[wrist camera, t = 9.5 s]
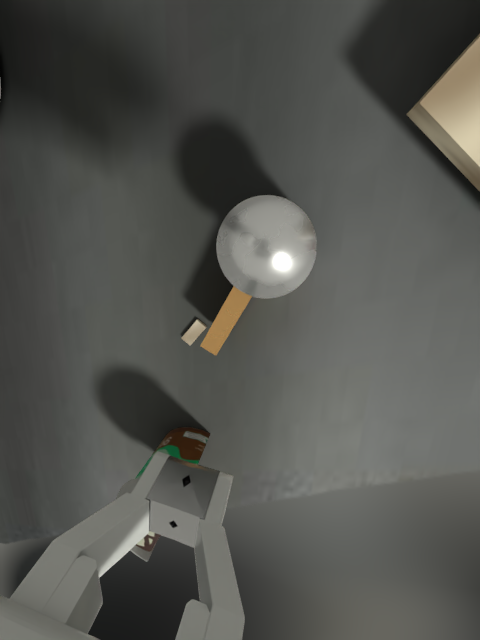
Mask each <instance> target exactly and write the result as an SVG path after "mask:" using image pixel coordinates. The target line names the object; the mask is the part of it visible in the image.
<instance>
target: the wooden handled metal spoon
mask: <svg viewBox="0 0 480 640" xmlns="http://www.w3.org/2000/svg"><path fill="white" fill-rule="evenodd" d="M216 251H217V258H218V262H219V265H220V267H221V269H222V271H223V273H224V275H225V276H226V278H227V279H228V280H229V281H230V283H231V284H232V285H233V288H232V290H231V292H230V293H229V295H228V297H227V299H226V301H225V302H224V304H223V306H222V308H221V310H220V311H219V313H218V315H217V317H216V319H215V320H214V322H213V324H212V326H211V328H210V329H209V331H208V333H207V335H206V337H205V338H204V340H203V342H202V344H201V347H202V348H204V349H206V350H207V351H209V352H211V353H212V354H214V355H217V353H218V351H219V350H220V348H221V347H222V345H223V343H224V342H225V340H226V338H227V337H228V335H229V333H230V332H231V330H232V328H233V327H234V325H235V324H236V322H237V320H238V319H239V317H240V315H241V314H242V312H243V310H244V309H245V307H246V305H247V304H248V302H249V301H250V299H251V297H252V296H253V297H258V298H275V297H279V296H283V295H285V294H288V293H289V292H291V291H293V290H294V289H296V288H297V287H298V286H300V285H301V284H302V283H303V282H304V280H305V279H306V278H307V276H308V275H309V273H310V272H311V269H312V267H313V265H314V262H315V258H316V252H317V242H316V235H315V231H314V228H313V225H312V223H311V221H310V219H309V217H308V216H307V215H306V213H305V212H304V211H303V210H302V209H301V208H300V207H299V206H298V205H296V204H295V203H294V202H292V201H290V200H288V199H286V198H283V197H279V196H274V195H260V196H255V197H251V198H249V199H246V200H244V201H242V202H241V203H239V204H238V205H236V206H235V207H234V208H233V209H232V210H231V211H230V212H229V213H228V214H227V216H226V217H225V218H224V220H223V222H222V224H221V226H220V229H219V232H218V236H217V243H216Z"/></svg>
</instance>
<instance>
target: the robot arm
mask: <svg viewBox="0 0 480 640" xmlns="http://www.w3.org/2000/svg"><path fill="white" fill-rule="evenodd" d="M0 97H1V79H0ZM232 480H233V476H232V475H229V474H225V473H222V472H220V471H217V470H214V469H211V468H208V467H204V466H201V465H198V464H194V463H191V462H188V461H185V460H182V459H179V458H176V457H173V456H171V455H168V454H165V453H162V452H158V451H157V452H156V453H155V455H154V456H153V457H152V459H151V461H150V462H149V464H148V466H147V467H146V469H145V471H144V472H143V474H142V476H141V477H140V479H139V481H138V482H137V484H136V486H135V487H134V489H133V491H132V492H131V493H128V492H127V493H125V494H124V495H122V496H121V497H119V498H117V499H116V500H114V501H113V502H111V503H110V504H108V505H107V506H105V507H104V508H102V509H101V510H99V511H98V512H96V513H95V514H93V515H91V516H90V517H88V518H87V519H85V520H84V521H82V522H81V523H79V524H78V525H76V526H75V527H73V528H72V529H70V530H68V531H67V532H65V533H64V534H62V535H61V536H59V537H58V538H56V539H55V540H53V541H52V543H51V544H50V545H49V547H48V548H47V549H46V551H45V552H44V553H43V555H42V556H41V558H40V559H39V560H38V561H37V563H36V564H35V565H34V567H33V568H32V569H31V571H30V572H29V573H28V575H27V576H26V577H25V579H24V580H23V581H22V583H21V584H20V585H19V587H18V588H17V589H16V591H15V592H14V593H13V595H12V596H11V597H10V599H8V598H6V597H3V596H1V595H0V640H99V639H97V638H95V637H93V636H90V635H88V632H89V630H90V628H91V625H92V624H93V621H94V620H95V618H96V616H97V613H98V611H99V609H100V607H101V605H102V593H101V588H100V583H99V577H101V576H102V575H103V574H104V573H105V572H106V571H107V570H108V569H109V568H110V567H112V566H113V565H114V564H115V563H116V562H117V561H118V560H119V559H121V558H122V557H123V556H124V555H125V554H126V553H127V552H128V551H129V550H131V549H132V548H133V547H134V546H135V545H136V544H137V543H138V542H139V541H140V540H142V539H143V538H144V537H145V536H146V535H147V534H148V533H149V531H150V532H153V533H156V534H159V535H162V536H165V537H168V538H171V539H174V540H176V541H178V542H181V543H183V544H186V545H188V546H191V547H193V548H195V549H194V550H195V560H196V569H197V578H198V587H199V596H200V602H198V601H196V600H191V601H190V602H188V603H187V604H186V607H185V610H184V614H183V617H182V620H181V623H180V627H179V630H178V633H177V636H176V639H175V640H242V635H243V628H244V622H245V617H244V613H243V608H242V604H241V599H240V595H239V590H238V586H237V582H236V577H235V573H234V569H233V564H232V559H231V555H230V551H229V546H228V542H227V537H226V533H225V529H224V527H222V526H221V525H222V521H223V517H224V514H225V510H226V505H227V501H228V497H229V493H230V489H231V484H232Z"/></svg>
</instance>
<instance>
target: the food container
mask: <svg viewBox="0 0 480 640" xmlns="http://www.w3.org/2000/svg"><path fill="white" fill-rule="evenodd" d="M209 436H210V433H208V432H206V431H203V430H201V429H196V428H192V427H179V428H176V429H174V430H171V431H170V432H169V433H168V434H167V435H166V436H165V438H164V439H163V440H162V442H161V443H160V445H159V446H158V447H157V449H156V450H155V452H154V453H153V454H152V456H151V457H150V459H149V460H148V461H147V463H146V464H145V465H144V467H143V468H142V470H141V471H140V472H139V474H138V475H137V477H136V478H135V479H133V480H130V481H128V482H127V483H125V484H124V485H123V486H122V487H121V489H120V491H119V493H118V495H117V498H119V497H121V496H122V495H124V494H125V493H127V492H128V493H131V492H132V491H133V489H134V487H135V486H136V484H137V482H138V481H139V479H140V477H141V476H142V474H143V472H144V471H145V469H146V467H147V466H148V464H149V462H150V461H151V459H152V457H153V456H154V455H155V453H156V452H157V451H158V452H162V453H165V454H168V455H171V456H173V457H176V458H179V459H182V460H185V461H188V462H191V463H194V464H198V463H199V460H200V458H201V455H202V453H203V451H204V448H205V446H206V443H207V441H208V438H209ZM117 498H116V499H117ZM160 536H161V535H159V534H156V533H153V532H150V531H149V533H148V534H147V535H146V536H145V537H144V538H143V539H142V540H140V541H139V542H138V543H137V544H136V545H135V546H134V547H133V548H132V549H131V551H132V552H133V553H134V554H136V555H137V556H139V557H140V558H142V559H143V560H145V561H147V562H148V560H149V557H150V555H151V553H152V551H153V549H154V546H155V544H156V542H157V540H158V539H159V537H160Z"/></svg>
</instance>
